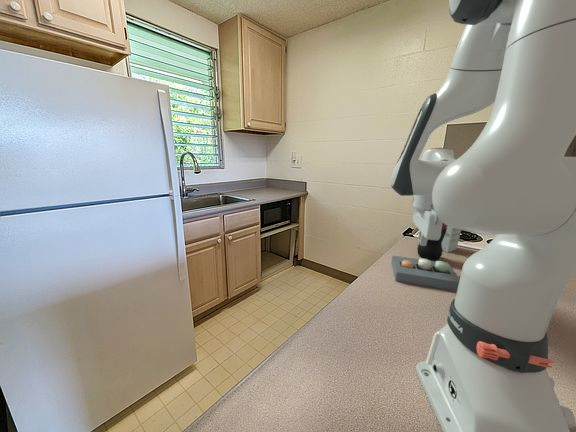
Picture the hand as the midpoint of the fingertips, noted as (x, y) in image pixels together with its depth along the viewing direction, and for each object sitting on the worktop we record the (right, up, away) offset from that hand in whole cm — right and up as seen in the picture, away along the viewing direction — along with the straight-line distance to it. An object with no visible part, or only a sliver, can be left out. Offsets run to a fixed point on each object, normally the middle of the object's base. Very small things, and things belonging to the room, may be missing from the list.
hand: (421, 244), depth 79 cm
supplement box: (+25, -5, +28) cm, 38 cm away
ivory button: (+1, -8, +1) cm, 8 cm away
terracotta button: (-3, -9, +3) cm, 10 cm away
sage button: (+6, -8, 0) cm, 10 cm away
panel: (+1, -11, +2) cm, 11 cm away
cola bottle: (+12, -7, +17) cm, 22 cm away
